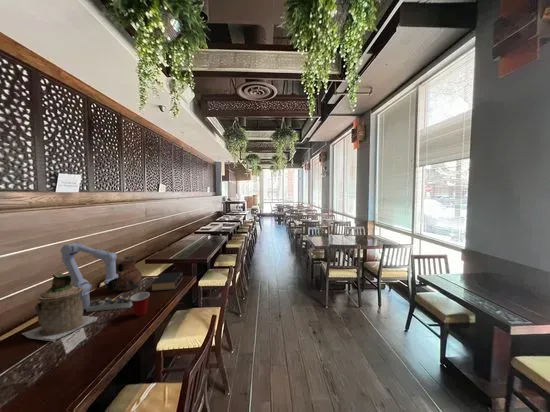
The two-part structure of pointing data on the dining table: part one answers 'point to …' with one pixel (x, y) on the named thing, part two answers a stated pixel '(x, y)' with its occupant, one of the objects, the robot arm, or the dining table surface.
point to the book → (167, 281)
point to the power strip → (109, 305)
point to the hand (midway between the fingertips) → (112, 290)
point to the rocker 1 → (95, 301)
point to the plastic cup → (140, 303)
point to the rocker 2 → (109, 300)
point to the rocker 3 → (123, 298)
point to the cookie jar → (59, 311)
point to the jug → (127, 273)
